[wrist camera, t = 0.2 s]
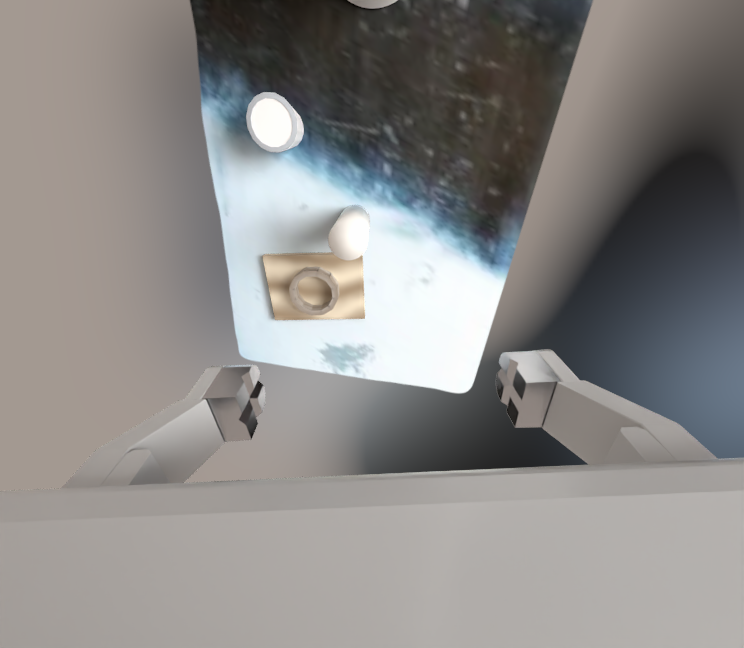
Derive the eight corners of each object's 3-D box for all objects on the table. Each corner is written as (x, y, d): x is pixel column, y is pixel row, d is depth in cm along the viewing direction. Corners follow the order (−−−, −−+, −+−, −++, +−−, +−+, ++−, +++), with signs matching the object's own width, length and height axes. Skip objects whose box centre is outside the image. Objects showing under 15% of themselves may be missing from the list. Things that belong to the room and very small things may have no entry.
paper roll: (339, 205, 52) (326, 221, 39) (369, 204, 52) (366, 220, 39) (341, 236, 55) (330, 260, 42) (370, 235, 55) (368, 259, 42)
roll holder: (265, 254, 57) (257, 260, 53) (362, 251, 56) (361, 257, 53) (277, 316, 63) (271, 326, 59) (365, 315, 62) (364, 324, 59)
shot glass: (304, 158, 49) (294, 158, 43) (261, 146, 49) (244, 145, 42) (310, 107, 46) (300, 100, 40) (264, 94, 45) (246, 84, 39)
